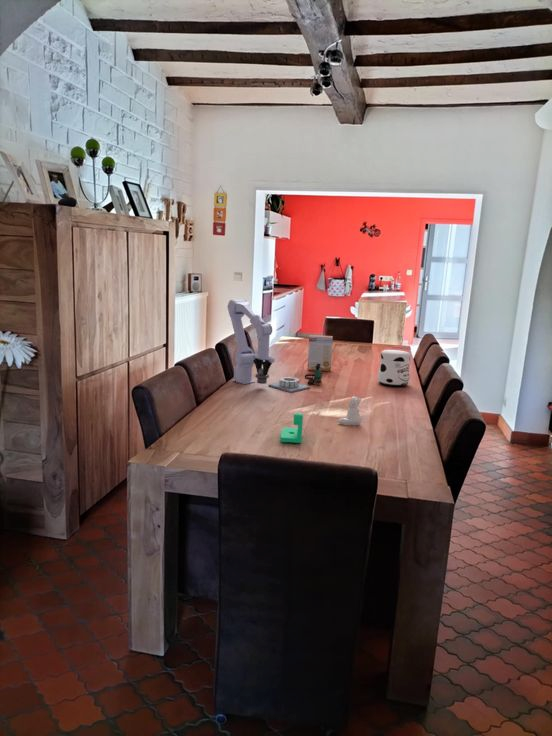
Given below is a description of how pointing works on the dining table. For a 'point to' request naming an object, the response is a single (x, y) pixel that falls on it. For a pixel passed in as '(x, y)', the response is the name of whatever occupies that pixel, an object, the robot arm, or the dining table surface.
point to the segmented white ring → (289, 382)
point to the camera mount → (293, 430)
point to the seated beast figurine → (352, 413)
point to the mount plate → (300, 387)
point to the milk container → (394, 368)
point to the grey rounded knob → (261, 377)
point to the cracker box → (320, 352)
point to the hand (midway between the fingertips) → (262, 374)
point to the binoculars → (317, 376)
